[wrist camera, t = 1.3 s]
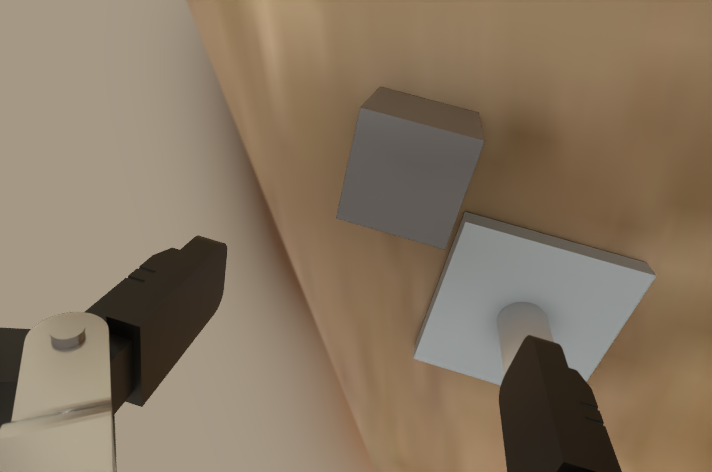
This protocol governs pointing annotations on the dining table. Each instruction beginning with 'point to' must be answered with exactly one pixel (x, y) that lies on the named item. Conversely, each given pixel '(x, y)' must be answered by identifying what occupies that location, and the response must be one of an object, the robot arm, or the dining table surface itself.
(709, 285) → the dining table surface
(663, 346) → the dining table surface
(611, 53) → the dining table surface
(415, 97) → the block
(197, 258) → the robot arm
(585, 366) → the post base
